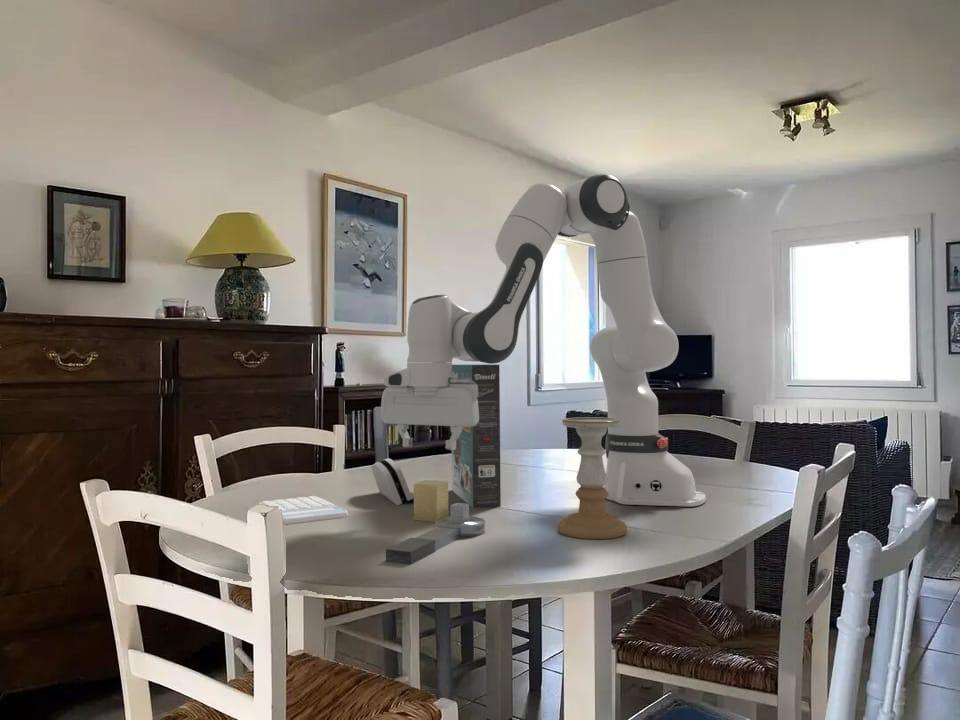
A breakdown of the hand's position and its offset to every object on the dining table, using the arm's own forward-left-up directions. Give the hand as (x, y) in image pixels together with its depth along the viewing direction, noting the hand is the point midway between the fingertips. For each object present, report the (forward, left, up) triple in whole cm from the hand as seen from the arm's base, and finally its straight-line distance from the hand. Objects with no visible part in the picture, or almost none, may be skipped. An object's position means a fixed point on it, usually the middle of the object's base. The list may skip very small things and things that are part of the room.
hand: (429, 448), depth 143 cm
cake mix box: (+1, -23, -14) cm, 27 cm away
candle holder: (-32, -1, -14) cm, 35 cm away
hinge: (+18, -17, -14) cm, 28 cm away
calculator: (+28, +4, -15) cm, 32 cm away
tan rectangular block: (0, 0, -14) cm, 14 cm away
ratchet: (-10, +17, -14) cm, 24 cm away
